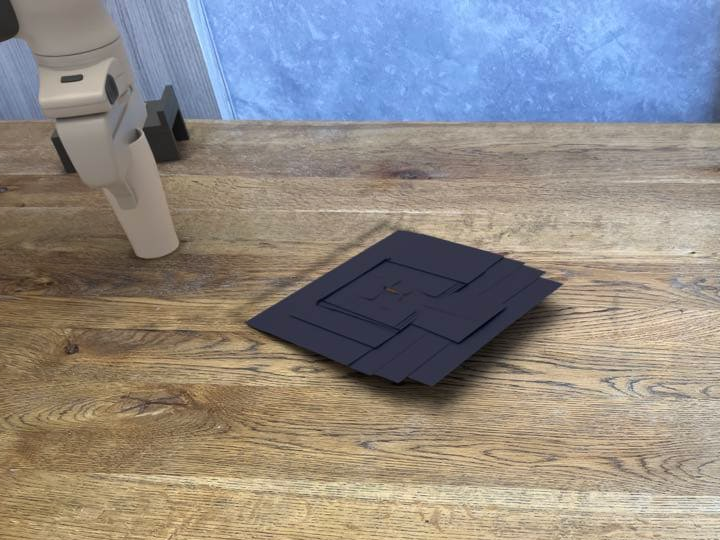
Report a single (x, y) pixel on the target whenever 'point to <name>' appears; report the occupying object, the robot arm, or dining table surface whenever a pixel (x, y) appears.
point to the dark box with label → (150, 130)
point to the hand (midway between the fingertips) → (136, 187)
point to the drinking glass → (146, 205)
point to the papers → (408, 306)
